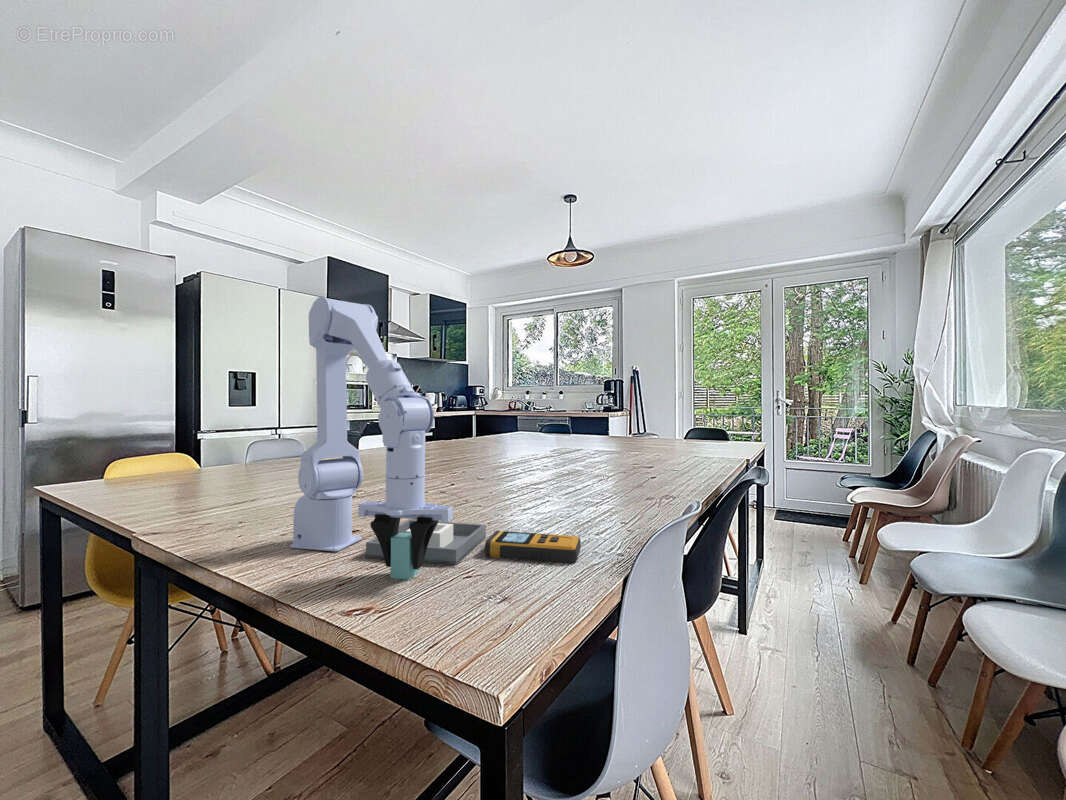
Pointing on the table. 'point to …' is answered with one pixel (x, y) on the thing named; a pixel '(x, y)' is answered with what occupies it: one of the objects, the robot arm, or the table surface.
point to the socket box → (440, 542)
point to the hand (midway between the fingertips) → (404, 565)
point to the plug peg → (402, 557)
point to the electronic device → (533, 547)
